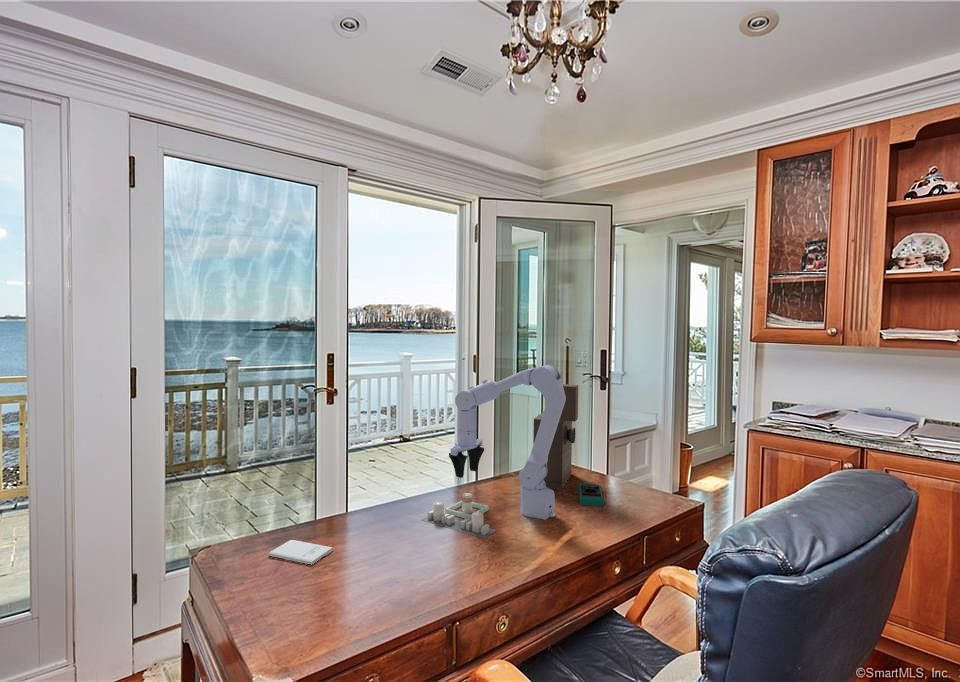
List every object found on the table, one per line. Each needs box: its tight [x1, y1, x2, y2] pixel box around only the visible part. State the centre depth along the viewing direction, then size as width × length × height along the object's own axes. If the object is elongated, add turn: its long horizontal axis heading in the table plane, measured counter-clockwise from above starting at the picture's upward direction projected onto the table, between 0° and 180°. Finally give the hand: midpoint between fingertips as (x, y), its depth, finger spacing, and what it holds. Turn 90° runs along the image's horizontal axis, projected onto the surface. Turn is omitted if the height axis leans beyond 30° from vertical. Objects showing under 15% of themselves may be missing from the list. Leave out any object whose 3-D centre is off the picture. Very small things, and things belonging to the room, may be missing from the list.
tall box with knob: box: [532, 383, 579, 490], centre depth 181 cm, size 19×14×35 cm
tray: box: [444, 500, 489, 521], centre depth 148 cm, size 9×9×2 cm
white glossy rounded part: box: [432, 501, 445, 522], centre depth 142 cm, size 3×3×4 cm
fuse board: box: [421, 509, 497, 539], centre depth 138 cm, size 21×6×3 cm, turn 57°
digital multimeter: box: [578, 483, 605, 507], centre depth 164 cm, size 7×15×3 cm, turn 170°
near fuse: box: [471, 511, 484, 533], centre depth 134 cm, size 3×3×4 cm
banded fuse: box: [461, 492, 473, 514], centre depth 148 cm, size 3×3×6 cm
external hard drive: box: [268, 539, 334, 566], centre depth 123 cm, size 2×8×12 cm
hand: (466, 473), depth 155 cm, fingers open, 7 cm apart
